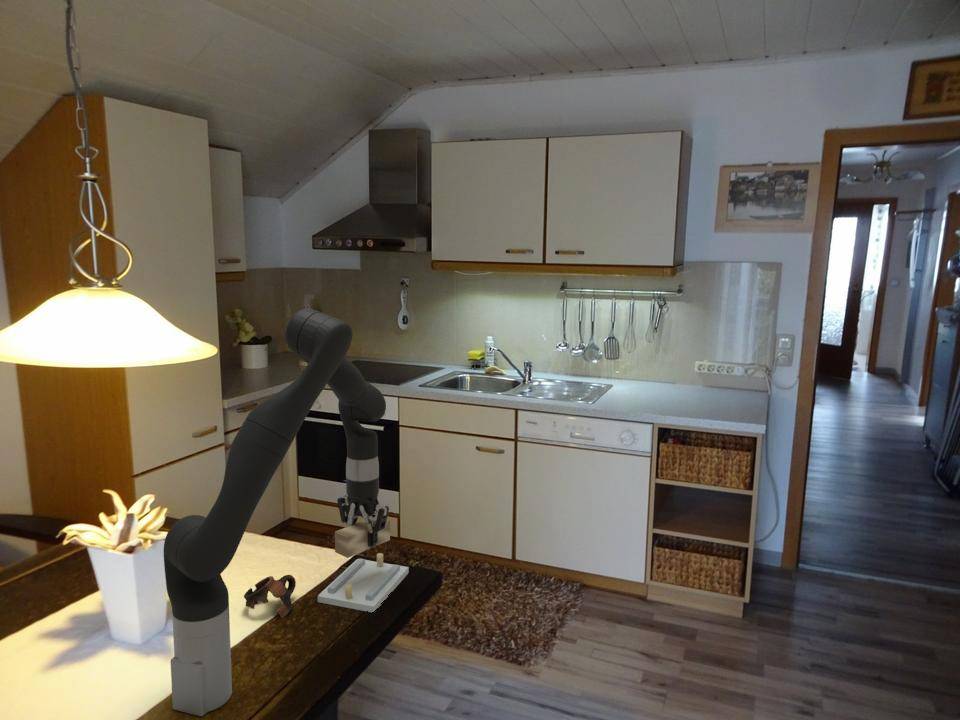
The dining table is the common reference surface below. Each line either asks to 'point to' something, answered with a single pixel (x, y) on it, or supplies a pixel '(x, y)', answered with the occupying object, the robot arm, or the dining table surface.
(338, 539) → the beige wooden block
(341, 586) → the key cradle
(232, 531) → the robot arm
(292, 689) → the dining table surface
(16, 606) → the dining table surface
